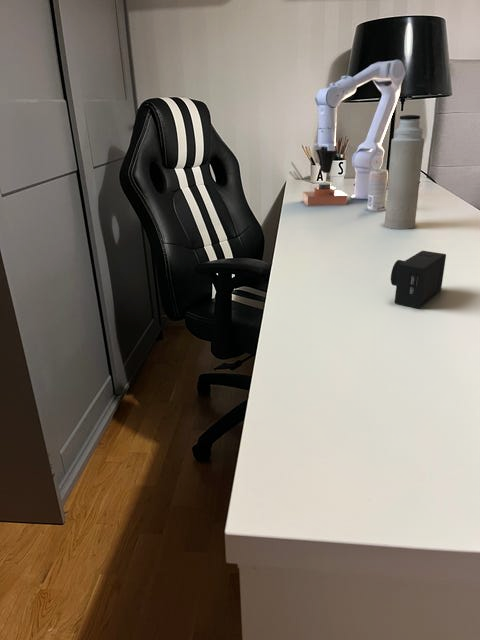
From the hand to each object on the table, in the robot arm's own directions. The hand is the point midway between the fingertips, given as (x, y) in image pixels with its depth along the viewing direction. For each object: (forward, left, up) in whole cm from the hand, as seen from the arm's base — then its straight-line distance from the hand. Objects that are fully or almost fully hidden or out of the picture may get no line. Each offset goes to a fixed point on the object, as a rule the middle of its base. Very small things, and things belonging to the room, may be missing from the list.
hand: (325, 172), depth 166 cm
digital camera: (-43, +80, -10) cm, 91 cm away
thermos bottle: (-30, +26, -10) cm, 41 cm away
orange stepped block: (0, 0, -10) cm, 10 cm away
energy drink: (-19, +6, -10) cm, 23 cm away
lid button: (0, 0, -6) cm, 6 cm away
